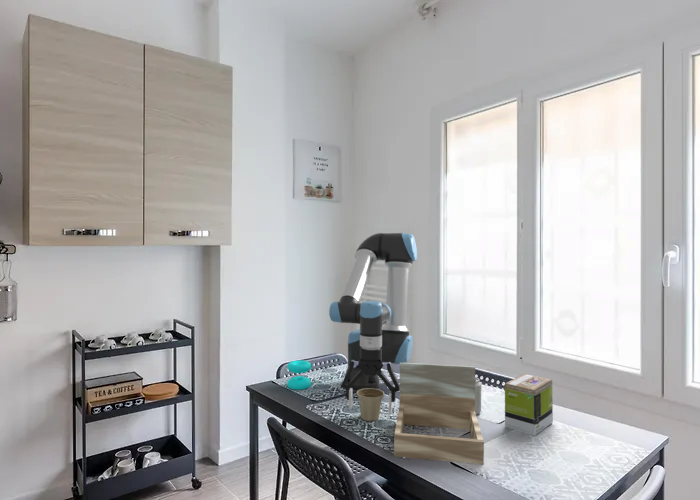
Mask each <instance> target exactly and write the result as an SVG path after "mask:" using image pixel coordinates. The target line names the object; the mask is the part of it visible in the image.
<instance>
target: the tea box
mask: <svg viewBox="0 0 700 500" xmlns="http://www.w3.org/2000/svg"><path fill="white" fill-rule="evenodd" d="M553 402H554V401H553V379H552V378H551V379H550V378H546V377H541V376H536V375H531V374H527V373H523V374H521V375H519V376H517V377H515V378H513V379H511V380H509V381H507V382H505V383H504V427H505V428H507V429H511V430H514V431H516V430H517V431H516V432H521V433H524V434H526V433H527V434H526V435H529V436H536V435H537V434H538V433H540V432H541V431H543V430H544V429H545V428H547V427H548V426H550V425H552V423H553V422H554V421H553V420H554V417H553V415H554V413H553V410H554V409H553Z"/></svg>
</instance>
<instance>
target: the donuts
mask: <svg viewBox="0 0 700 500" xmlns="http://www.w3.org/2000/svg"><path fill="white" fill-rule="evenodd" d="M286 368H287V370H288V371H289V372H291V373H293V374H304V373H307V372H309V371H310V370H311V369H312V363H311V362H309V361H308V360H300V359H298V360H292V361H290V362H288V364H287V365H286ZM286 386H287V387H288V388H289V389H291V390H295V391H299V390H301V391H302V390H307V389H309V388H310V387H311V386H312V380H311V379H310V378H308V377H306V376H302V375H299V376H298V375H296V376H292V377H291V378H289V379H288V380H287V382H286Z"/></svg>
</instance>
